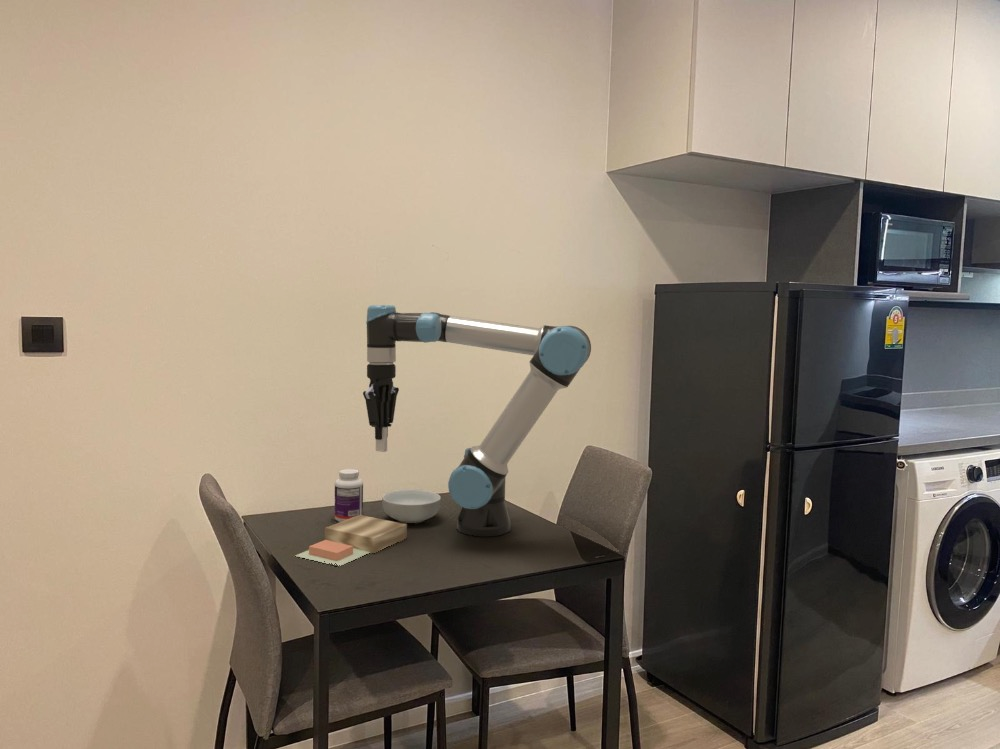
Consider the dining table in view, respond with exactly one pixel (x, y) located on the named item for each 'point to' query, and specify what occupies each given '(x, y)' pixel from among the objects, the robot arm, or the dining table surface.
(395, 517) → the cereal bowl
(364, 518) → the wooden block
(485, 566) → the dining table surface
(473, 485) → the robot arm
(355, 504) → the pill bottle
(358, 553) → the mat
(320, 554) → the pink rectangular block
